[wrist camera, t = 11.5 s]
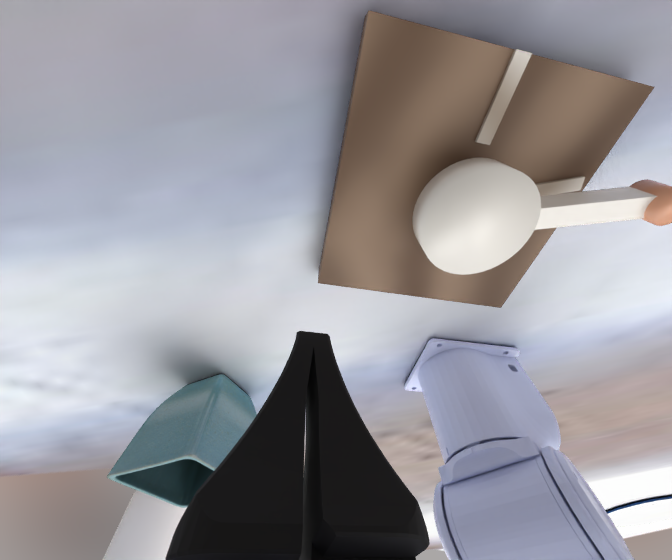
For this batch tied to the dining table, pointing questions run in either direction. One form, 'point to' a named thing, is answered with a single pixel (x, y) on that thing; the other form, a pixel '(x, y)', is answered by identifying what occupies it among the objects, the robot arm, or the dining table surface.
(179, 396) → the flower pot
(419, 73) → the strip board
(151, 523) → the mug
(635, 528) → the plate
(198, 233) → the dining table surface
